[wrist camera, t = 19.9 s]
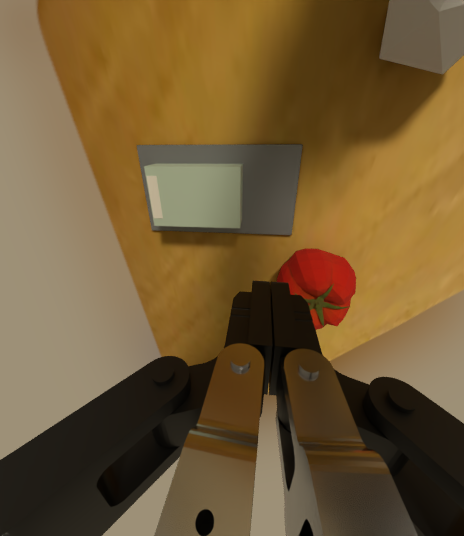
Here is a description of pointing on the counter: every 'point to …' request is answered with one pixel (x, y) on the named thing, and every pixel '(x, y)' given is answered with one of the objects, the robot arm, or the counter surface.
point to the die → (424, 33)
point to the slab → (196, 194)
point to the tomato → (320, 284)
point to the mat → (254, 181)
